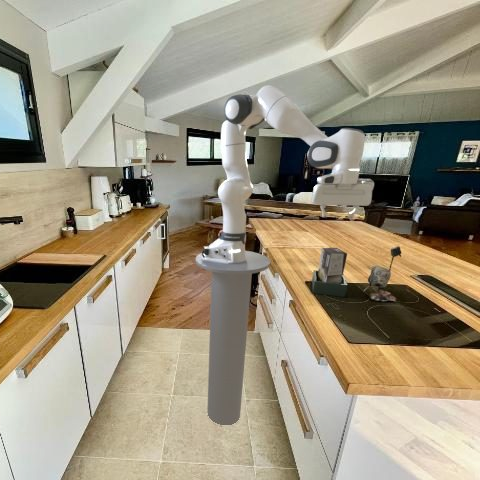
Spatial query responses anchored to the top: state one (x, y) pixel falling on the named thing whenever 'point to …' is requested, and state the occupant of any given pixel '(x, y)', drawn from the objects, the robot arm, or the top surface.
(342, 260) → the coffee box
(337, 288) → the open box frame
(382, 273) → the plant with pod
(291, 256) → the top surface
